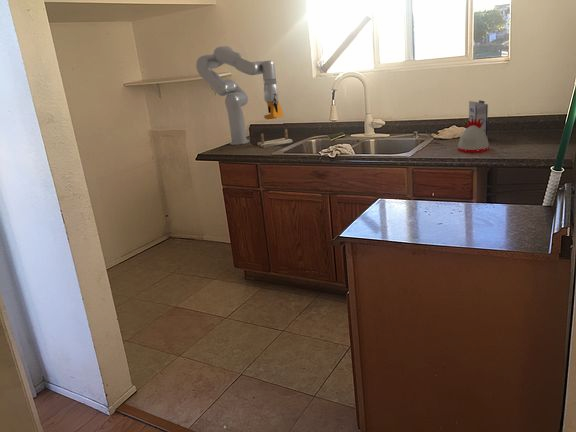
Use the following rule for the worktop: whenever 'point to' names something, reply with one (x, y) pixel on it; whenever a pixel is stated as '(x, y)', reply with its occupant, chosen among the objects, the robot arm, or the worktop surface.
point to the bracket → (274, 111)
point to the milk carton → (479, 113)
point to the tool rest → (274, 142)
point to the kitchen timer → (473, 139)
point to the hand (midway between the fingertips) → (273, 112)
